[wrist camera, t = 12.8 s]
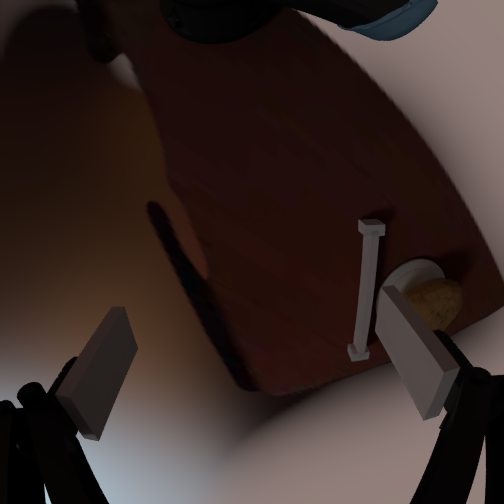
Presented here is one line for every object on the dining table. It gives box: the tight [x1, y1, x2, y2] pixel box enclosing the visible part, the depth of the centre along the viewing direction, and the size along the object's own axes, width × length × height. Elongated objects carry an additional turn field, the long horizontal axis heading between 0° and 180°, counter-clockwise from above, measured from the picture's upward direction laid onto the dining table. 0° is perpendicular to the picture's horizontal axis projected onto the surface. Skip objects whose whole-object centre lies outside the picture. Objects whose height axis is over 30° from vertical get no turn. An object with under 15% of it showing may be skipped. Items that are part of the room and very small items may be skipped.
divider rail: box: [348, 219, 385, 361], centre depth 45 cm, size 24×3×3 cm, turn 4°
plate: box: [375, 258, 445, 314], centre depth 47 cm, size 14×14×1 cm
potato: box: [403, 277, 464, 331], centre depth 43 cm, size 10×14×8 cm
